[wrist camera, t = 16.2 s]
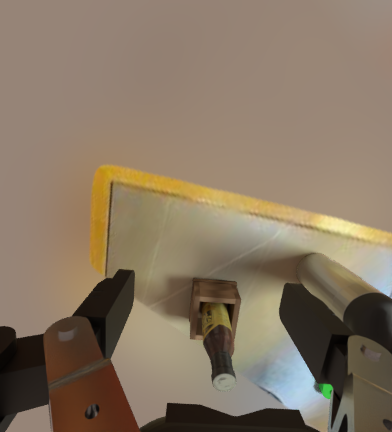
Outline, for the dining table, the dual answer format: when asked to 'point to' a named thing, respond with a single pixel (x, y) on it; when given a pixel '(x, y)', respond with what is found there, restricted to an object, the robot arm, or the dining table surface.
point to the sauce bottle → (218, 344)
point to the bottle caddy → (213, 293)
